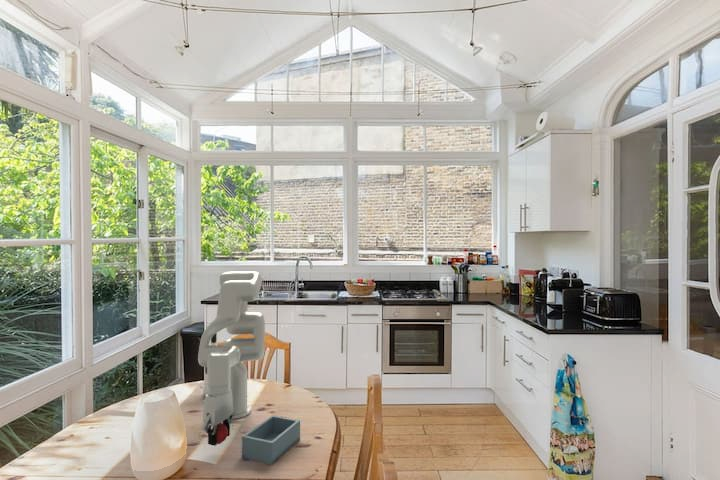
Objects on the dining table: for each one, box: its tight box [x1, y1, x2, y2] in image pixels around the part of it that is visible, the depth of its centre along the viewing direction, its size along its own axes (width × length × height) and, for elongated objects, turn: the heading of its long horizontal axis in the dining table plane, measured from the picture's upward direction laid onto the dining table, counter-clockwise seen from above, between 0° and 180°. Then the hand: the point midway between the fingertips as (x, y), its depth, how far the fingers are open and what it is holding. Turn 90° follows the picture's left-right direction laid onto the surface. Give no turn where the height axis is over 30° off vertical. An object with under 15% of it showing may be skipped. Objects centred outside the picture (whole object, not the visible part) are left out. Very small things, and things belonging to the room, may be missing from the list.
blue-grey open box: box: [241, 414, 301, 465], centre depth 140 cm, size 12×18×7 cm, turn 159°
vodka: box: [202, 332, 218, 397], centre depth 191 cm, size 9×9×30 cm
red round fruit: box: [211, 422, 229, 445], centre depth 137 cm, size 6×6×8 cm
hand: (219, 439), depth 137 cm, fingers closed on red round fruit, 5 cm apart
